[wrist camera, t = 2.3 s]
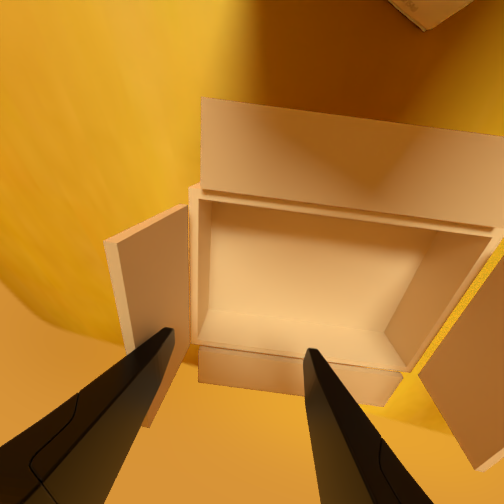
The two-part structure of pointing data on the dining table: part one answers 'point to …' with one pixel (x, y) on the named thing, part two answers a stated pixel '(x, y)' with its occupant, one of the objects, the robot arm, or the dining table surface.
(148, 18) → the dining table surface
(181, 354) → the flap
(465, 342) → the flap
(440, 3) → the tea box
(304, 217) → the carton
